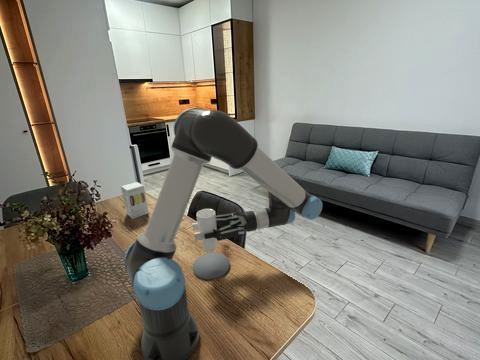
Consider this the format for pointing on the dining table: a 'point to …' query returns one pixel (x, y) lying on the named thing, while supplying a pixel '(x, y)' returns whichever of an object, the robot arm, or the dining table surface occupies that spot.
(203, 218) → the drinking glass
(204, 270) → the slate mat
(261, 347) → the dining table surface
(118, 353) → the dining table surface
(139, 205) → the supplement box
